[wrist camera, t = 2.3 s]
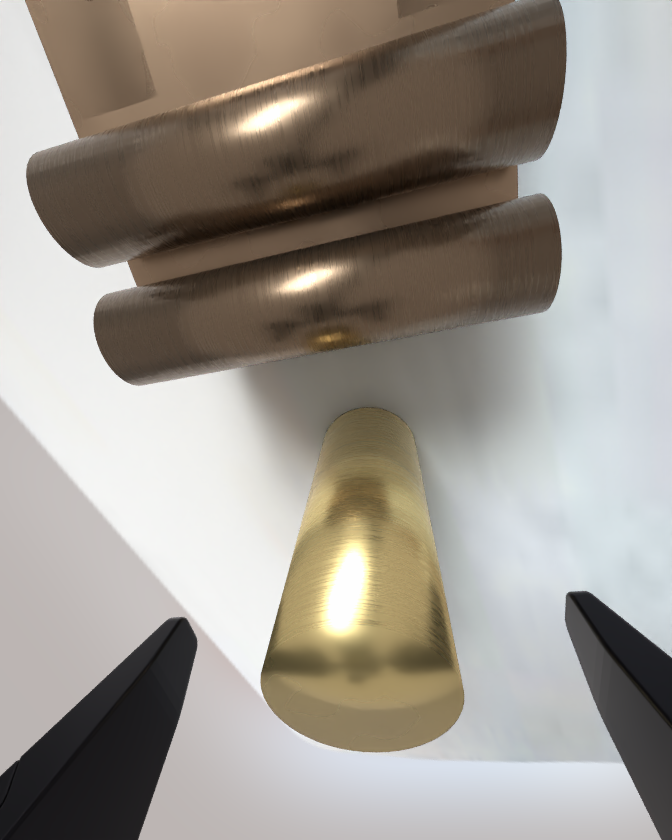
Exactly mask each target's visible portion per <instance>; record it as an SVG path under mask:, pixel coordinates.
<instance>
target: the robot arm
mask: <svg viewBox="0 0 672 840" xmlns="http://www.w3.org/2000/svg"><path fill="white" fill-rule="evenodd" d="M565 622H566V626H567V630H568V632H569V635H570V638H571V640H572V643H573V646H574V648H575V651H576V654H577V656H578V659H579V661H580V664H581V667H582V669H583V672H584V675H585V677H586V680H587V683H588V685H589V688H590V690H591V693H592V696H593V698H594V701H595V703H596V706H597V708H598V711H599V713H600V715H601V717H602V719H603V721H604V724H605V726H606V728H607V730H608V732H609V734H610V736H611V738H612V740H613V742H614V744H615V746H616V748H617V750H618V752H619V754H620V756H621V758H622V760H623V762H624V764H625V766H626V768H627V770H628V772H629V774H630V776H631V778H632V780H633V782H634V784H635V787H636V789H637V791H638V793H639V795H640V797H641V799H642V801H643V803H644V805H645V807H646V809H647V811H648V813H649V815H650V817H651V819H652V821H653V823H654V825H655V827H656V829H657V831H658V833H659V835H660V837H661V839H662V840H672V658H671V657H670V656H669V655H667V654H666V653H665V652H664V651H662V650H661V649H660V648H659V647H657V646H656V645H655V644H654V643H652V642H651V641H650V640H649V639H648V638H646V637H645V636H644V635H643V634H641V633H640V632H639V631H638V630H636V629H635V628H634V627H633V626H631V625H630V624H629V623H628V622H626V621H625V620H624V619H623V618H621V617H620V616H619V615H618V614H616V613H615V612H614V611H613V610H611V609H610V608H609V607H608V606H606V605H605V604H604V603H603V602H601V601H600V600H599V599H598V598H596V597H595V596H594V595H593V594H591V593H590V592H587V591H574V592H568V593H567V595H566V607H565ZM196 651H197V638H196V635H195V633H194V631H193V630H192V628H191V626H190V624H189V622H188V620H187V619H186V618H184V617H176V618H170V619H168V620H167V621H166V622H164V623H163V624H162V625H161V626H160V627H159V628H158V629H157V630H156V631H155V632H154V633H153V634H152V635H150V636H149V637H148V638H147V639H146V640H145V641H144V642H143V643H142V644H141V645H140V646H139V647H138V648H137V649H136V650H134V651H133V652H132V653H131V654H130V655H129V656H128V657H127V658H126V659H125V660H124V661H123V662H122V663H121V664H120V665H118V666H117V667H116V668H115V669H114V670H113V671H112V672H111V673H110V674H109V675H108V676H107V677H106V678H105V679H104V680H102V681H101V682H100V683H99V684H98V685H97V686H96V687H95V688H94V689H93V690H92V691H91V692H90V693H89V694H88V695H86V696H85V697H84V698H83V699H82V700H81V701H80V702H79V703H78V704H77V705H76V706H75V707H74V708H73V709H72V710H71V711H70V712H68V713H67V714H66V715H65V716H64V717H63V718H62V719H61V720H60V721H59V722H58V723H57V724H56V725H54V726H53V727H52V728H51V729H50V730H49V731H48V732H47V733H46V734H45V735H44V736H43V737H42V738H41V739H39V740H38V741H37V742H36V743H35V744H34V745H33V746H32V747H31V748H30V749H29V750H28V751H27V752H26V753H25V754H24V755H22V756H21V758H20V760H18V761H16V762H15V763H14V764H13V765H12V766H11V767H9V768H8V769H7V770H6V771H5V772H4V773H3V774H2V775H1V776H0V840H138V838H139V835H140V832H141V829H142V827H143V824H144V821H145V817H146V815H147V812H148V809H149V806H150V803H151V800H152V797H153V794H154V791H155V788H156V785H157V782H158V779H159V777H160V773H161V771H162V768H163V764H164V762H165V759H166V756H167V753H168V750H169V747H170V744H171V741H172V738H173V736H174V733H175V730H176V727H177V724H178V720H179V717H180V714H181V710H182V706H183V703H184V699H185V695H186V691H187V686H188V683H189V679H190V674H191V671H192V667H193V663H194V659H195V655H196Z"/></svg>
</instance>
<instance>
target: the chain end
mask: <svg viewBox="0 0 672 840" xmlns="http://www.w3.org/2000/svg"><path fill="white" fill-rule="evenodd" d="M25 2H26V4H27V7H28V9H29V12H30V15H31V17H32V20H33V22H34V25H35V27H36V30H37V32H38V35H39V37H40V40H41V43H42V45H43V48H44V50H45V53H46V55H47V58H48V60H49V63H50V66H51V68H52V71H53V73H54V76H55V78H56V81H57V83H58V86H59V88H60V91H61V94H62V96H63V99H64V101H65V104H66V106H67V109H68V111H69V114H70V117H71V119H72V122H73V124H74V127H75V129H76V132H77V134H78V137H79V139H78V140H74V141H71V142H68V143H65V144H62V145H59V146H55V147H52V148H49V149H46V150H43V151H40V152H36V153H35V154H33V155H32V157H31V158H30V159H29V162H28V164H27V171H26V178H27V185H28V190H29V193H30V197H31V200H32V202H33V205H34V207H35V209H36V211H37V213H38V215H39V217H40V219H41V221H42V222H43V224H44V226H45V227H46V229H47V230H48V231H49V233H50V234H51V235H52V237H53V238H54V239H55V240H56V242H57V243H58V244H59V245H60V246H61V247H62V248H63V249H64V250H65V251H66V252H67V253H68V254H70V255H71V256H72V257H73V258H75V259H76V260H78V261H79V262H81V263H83V264H85V265H88V266H91V267H95V268H101V267H105V266H109V265H113V264H117V263H121V262H126V261H127V262H128V264H129V267H130V270H131V272H132V275H133V277H134V280H135V282H136V285H137V287H134V288H130V289H126V290H121V291H117V292H113V293H109V294H106V295H104V296H103V297H102V298H101V299H100V300H99V302H98V303H97V306H96V308H95V312H94V332H95V337H96V340H97V344H98V347H99V349H100V351H101V353H102V355H103V357H104V359H105V361H106V362H107V364H108V365H109V367H110V368H111V369H112V370H113V371H114V373H115V374H116V375H118V376H119V377H120V378H121V379H123V380H124V381H126V382H128V383H130V384H132V385H137V386H141V385H147V384H153V383H158V382H164V381H169V380H174V379H180V378H185V377H191V376H196V375H202V374H207V373H213V372H218V371H224V370H229V369H235V368H240V367H246V366H251V365H257V364H262V363H268V362H273V361H278V360H284V359H289V358H295V357H300V356H306V355H311V354H317V353H322V352H328V351H333V350H339V349H344V348H350V347H355V346H361V345H366V344H372V343H377V342H383V341H388V340H393V339H399V338H404V337H410V336H415V335H421V334H426V333H432V332H437V331H443V330H448V329H454V328H459V327H465V326H470V325H476V324H481V323H487V322H492V321H498V320H503V319H508V318H514V317H519V316H525V315H530V314H536V313H541V312H544V311H546V310H547V309H548V308H549V307H550V306H551V304H552V302H553V300H554V298H555V295H556V292H557V289H558V285H559V279H560V273H561V260H562V248H561V235H560V228H559V223H558V219H557V215H556V212H555V209H554V207H553V205H552V203H551V201H550V200H549V199H548V197H547V196H545V195H544V194H541V193H540V194H535V195H530V196H526V197H522V198H518V172H517V165H519V164H523V163H527V162H532V161H535V160H538V159H539V158H541V157H542V155H543V154H544V153H545V151H546V150H547V148H548V146H549V144H550V142H551V139H552V137H553V134H554V131H555V128H556V125H557V121H558V118H559V113H560V109H561V104H562V98H563V91H564V84H565V73H566V29H565V21H564V15H563V11H562V7H561V4H560V2H559V0H519V1H516V2H515V0H25Z"/></svg>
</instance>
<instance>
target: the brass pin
mask: <svg viewBox="0 0 672 840" xmlns="http://www.w3.org/2000/svg"><path fill="white" fill-rule="evenodd" d="M261 689H262V693H263V695H264V698H265V700H266V702H267V704H268V705H269V707H270V708H271V709H272V711H273V712H274V713H275V714H276V715H277V716H278V717H279V718H280V719H281V720H282V721H283V722H284V723H285V724H287V725H288V726H289V727H291V728H292V729H294V730H295V731H297V732H299V733H300V734H302V735H304V736H306V737H308V738H310V739H313V740H315V741H317V742H320V743H323V744H326V745H329V746H333V747H337V748H341V749H346V750H352V751H361V752H391V751H400V750H405V749H410V748H413V747H417V746H420V745H423V744H425V743H428V742H430V741H432V740H434V739H436V738H438V737H440V736H441V735H442V734H444V733H445V732H446V731H448V730H449V729H450V728H451V727H452V726H453V725H454V724H455V722H456V721H457V719H458V718H459V716H460V714H461V712H462V709H463V705H464V690H463V685H462V680H461V675H460V670H459V664H458V659H457V654H456V649H455V644H454V639H453V634H452V629H451V623H450V618H449V613H448V608H447V603H446V598H445V593H444V588H443V582H442V577H441V572H440V567H439V562H438V557H437V552H436V547H435V542H434V536H433V531H432V526H431V521H430V516H429V511H428V506H427V501H426V495H425V490H424V485H423V480H422V475H421V470H420V465H419V460H418V454H417V449H416V444H415V440H414V436H413V434H412V432H411V430H410V428H409V427H408V426H407V424H406V423H405V422H404V421H403V420H402V419H401V418H399V417H398V416H396V415H395V414H393V413H391V412H389V411H386V410H383V409H379V408H369V407H366V408H358V409H354V410H351V411H348V412H346V413H344V414H343V415H341V416H340V417H338V418H337V419H336V420H335V421H334V422H333V423H332V424H331V425H330V427H329V428H328V430H327V432H326V434H325V437H324V441H323V445H322V449H321V452H320V456H319V460H318V463H317V467H316V471H315V475H314V478H313V482H312V486H311V490H310V493H309V497H308V501H307V504H306V508H305V512H304V516H303V519H302V523H301V527H300V531H299V534H298V538H297V542H296V545H295V549H294V553H293V557H292V560H291V564H290V568H289V572H288V575H287V579H286V583H285V586H284V590H283V594H282V598H281V601H280V605H279V609H278V613H277V616H276V620H275V624H274V627H273V631H272V635H271V639H270V642H269V646H268V650H267V654H266V657H265V661H264V665H263V668H262V672H261Z"/></svg>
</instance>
